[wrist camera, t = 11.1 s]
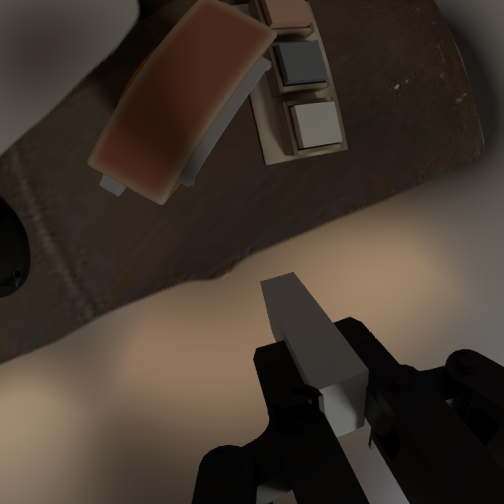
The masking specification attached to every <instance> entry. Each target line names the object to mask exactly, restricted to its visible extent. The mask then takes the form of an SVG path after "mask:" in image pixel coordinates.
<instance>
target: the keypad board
mask: <svg viewBox="0 0 504 504" xmlns="http://www.w3.org/2000/svg"><path fill="white" fill-rule="evenodd" d="M305 3H306V6H307V9H308V12H309V14H310V17H311V20H312V22H311V23H310V24H309V25H308V26H307V27H306V28H290V29H273V30H275V31H276V32H277V36H276V38H275V39H274V41H273V42H272V44H271V45H270V47H269V48H268V49H267V51H266V52H265V54H264V55H263V57H264V58H266V59H267V60H269V61H271V64H270V65H271V68H270V69H269V70H268V71H267V70H266V71H265V72H264V74H263V75H262V76H261V78H260V79H259V81H258V82H257V83H256V85H255V86H254V87H253V89H252V90H251V92H250V93H249V95H250V99H251V104H252V108H253V112H254V116H255V120H256V125H257V129H258V133H259V138H260V142H261V146H262V151H263V155H264V160H265V164H266V165H269V164H274V163H279V162H284V161H288V160H293V159H298V158H304V157H309V156H314V155H320V154H325V153H331V152H337V151H343V150H348V148H347V143H346V138H345V132H344V127H343V123H342V118H341V113H340V109H339V104H338V100H337V96H336V91H335V87H334V83H333V79H332V76H331V72H330V68H329V64H328V61H327V57H326V54H325V50H324V47H323V44H322V40H321V37H320V34H319V31H318V28H317V25H316V22H315V19H314V16H313V13H312V10H311V7H310V5H309V2H305ZM232 6H233V7H235V8H237V9H239V10H241V11H242V12H243V13H245V14H246V15H248V16H250V17H252V18H254V19H256V20H257V21H259V22H261V23H263V24H265V25H266V22H265V19H264V16H263V13H262V9H261V6H260V3H259V0H250V2H249V4H241V5H232ZM294 42H319V46H320V49H321V53H322V56H323V59H324V63H325V67H326V70H327V74H328V78H327V79H326V80H324V81H322V82H320V83H316V84H305V85H295V86H287V87H283V84H282V80H281V76H280V72H279V68H278V65H277V61H276V57H275V54H274V49H275V48H276V46H277V45H278V44H279V43H294ZM332 101H334V103H335V107H336V112H337V116H338V121H339V126H340V131H341V136H342V141H343V142H337V143H330V144H324V145H318V146H312V147H306V148H297V144H296V140H295V135H294V131H293V126H292V122H291V117H290V113H289V108H291V107H293V106H296V105H304V104H312V103H322V102H332Z"/></svg>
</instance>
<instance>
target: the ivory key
mask: <svg viewBox="0 0 504 504" xmlns="http://www.w3.org/2000/svg"><path fill="white" fill-rule="evenodd" d="M289 113H290V117H291V122H292V126H293V131H294V135H295V140H296V144H297V148H306V147H312V146H318V145H324V144H330V143H337V142H343V141H342V136H341V131H340V126H339V121H338V116H337V112H336V107H335V103H334V101H332V102H322V103H312V104H304V105H296V106H293V107H291V108H289Z"/></svg>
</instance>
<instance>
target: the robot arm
mask: <svg viewBox="0 0 504 504" xmlns="http://www.w3.org/2000/svg"><path fill="white" fill-rule="evenodd" d="M29 269H30V248H29V243H28V239H27V236H26V233H25V230H24V228H23V226H22V224H21V222H20V220H19V219H18V217H17V216H16V215H15V213H14V212H13V211H12V210H11V209H10V208H8V207H7V206H6V205H4V204H2V203H0V298H1V297H5V296H9V295H11V294H13V293H14V292H15V291H16V290H17V289H19V288H20V287H21V286H22V285H23V284H24V282H25V280H26V278H27V276H28V273H29ZM260 283H261V287H262V291H263V296H264V300H265V304H266V308H267V313H268V317H269V320H270V325H271V329H272V333H273V335H274V337H275V340H276V343H273V344H270V345H266V346H262V347H259V348H257V349H256V351H255V354H254V358H253V361H254V364H255V367H256V371H257V375H258V378H259V381H260V385H261V388H262V391H263V395H264V399H265V402H266V405H267V409H268V415H269V424H268V426H267V428H266V430H265V431H264V432H263V433H262V435H261V436H259V437H258V438H257V439H255V440H254V441H252V442H250V443H248V444H246V445H245V446H243V447H239V446H233V445H225V446H219V447H217V448H215V449H213V450H211V451H209V452H208V453H207V454H206V455H205V456H204V457H203V459H202V461H201V463H200V465H199V470H198V475H197V480H196V484H195V489H194V494H193V499H192V504H273V501H274V500H275V499H277V498H279V497H280V496H282V495H284V494H286V493H287V492H289V491H290V490H292V489H293V492H294V495H295V498H296V501H297V504H370V503H369V502H368V499H367V497H366V495H365V494H364V491H363V490H362V487H361V485H360V483H359V482H358V479H357V477H356V476H355V473H354V471H353V469H352V468H351V465H350V464H349V461H348V459H347V458H346V455H345V453H344V451H343V449H342V447H341V445H340V443H339V441H338V440H337V437H339V436H341V435H344V434H346V433H349V432H351V431H354V430H356V429H358V428H360V427H363V426H364V422H365V418H366V419H367V421H368V423H369V424H370V425H371V433H370V439H369V448H370V449H373V446H374V443H375V445H376V447H377V448H378V450H379V452H380V453H381V455H382V457H383V459H384V460H385V462H386V464H387V465H388V467H389V469H390V470H391V472H392V474H393V476H394V477H395V479H396V481H397V482H398V484H399V486H400V487H401V489H402V491H403V493H404V495H405V496H406V498H407V500H408V501H409V503H410V504H504V367H503V366H501V365H500V364H498V363H496V362H494V361H492V360H490V359H489V358H487V357H485V356H483V355H481V354H480V353H478V352H475V351H473V350H470V349H461V350H458V351H455V352H453V353H452V354H451V355H449V357H448V359H447V360H446V364H445V366H442V367H438V368H434V369H430V370H425V371H418V370H416V369H415V368H414V367H412V366H408V365H400V364H399V363H398V362H397V361H396V360H395V359H394V357H393V356H392V355H391V354H390V353H389V352H388V351H387V350H386V349H385V347H384V346H383V345H382V344H381V343H380V342H379V341H378V340H377V339H376V338H375V336H374V335H373V334H372V333H371V332H369V330H368V329H367V328H366V327H365V325H364V324H363V323H362V322H360V321H358V320H356V319H354V318H352V317H348V318H345V319H342V320H340V321H337V322H334V323H333V322H332V321H331V320H330V319H329V317H328V316H327V315H326V313H325V312H324V311H323V309H322V308H321V307H320V306H319V304H318V303H317V302H316V300H315V299H314V298H313V296H312V295H311V294H310V293H309V291H308V290H307V289H306V288H305V286H304V285H303V284H302V283H301V281H300V280H299V279H298V277H297V276H296V275H295V274H294V272H292V273H289V274H285V275H282V276H278V277H275V278H272V279H268V280H264V281H261V282H260Z"/></svg>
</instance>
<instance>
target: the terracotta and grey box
mask: <svg viewBox="0 0 504 504" xmlns="http://www.w3.org/2000/svg"><path fill="white" fill-rule="evenodd" d="M276 36H277V32H276V31H275V30H273V29H271V28H270V27H268V26H266V25H265V24H263V23H261V22H259V21H257V20H256V19H254V18H252V17H250V16H248V15H246V14H245V13H243V12H242V11H241V10H239V9H237V8H235V7H233V6H231V5H228V4H226V3H224V2H220V1H218V0H198V1H197V2H196V3H195V4H194V5H193V6H192V7H191V8H190V9H189V10H188V11H187V13H186V14H185V15H184V16H183V17H182V18H181V19H180V20H179V22H178V23H177V24H176V25H175V26H174V27H173V29H172V30H171V31H170V32H169V33H168V35H167V36H166V37H165V38H164V39H163V41H162V42H161V43H160V45H159V46H158V47H156V48H155V49H154V50H153V51H152V52H151V53H150V54H149V55H148V56H147V57H146V58H145V60H144V61H143V62H142V63H141V64H140V66H139V67H138V68H137V70H136V71H135V72H134V74H133V75H132V77H131V79H130V80H129V82H128V84H127V85H126V87H125V89H124V91H123V93H122V95H121V97H120V100H119V102H118V104H117V107H116V109H115V110H114V112H113V114H112V115H111V117H110V119H109V121H108V122H107V124H106V126H105V128H104V130H103V132H102V133H101V135H100V137H99V139H98V141H97V143H96V145H95V147H94V149H93V151H92V153H91V155H90V157H89V159H88V164H89V166H91V167H92V168H94V169H96V170H98V171H100V172H101V173H103V175H102V177H101V180H100V183H99V184H100V186H101V187H103V188H104V189H106V190H108V191H110V192H111V193H113V194H115V195H117V196H120V195H121V193H122V192H123V191H124V190H125V188H126V186H127V187H128V188H130V189H132V190H134V191H136V192H137V193H139V194H141V195H143V196H145V197H146V198H148V199H150V200H152V201H154V202H156V203H157V204H161V205H163V204H164V203H165V202H166V201H167V199H168V198H169V197H170V196H171V194H172V193H173V192H174V191H175V189H176V188H177V187H178V186H179V185H180V183H182V184H184V185H185V186H187V187H189V186H190V185H193V184H194V182H195V176H196V175H197V173H198V171H199V169H200V168H201V166H202V165H203V163H204V161H205V160H206V158H207V156H208V155H209V153H210V152H211V150H212V148H213V147H214V145H215V144H216V142H217V141H218V139H219V137H220V136H221V134H222V133H223V131H224V130H225V128H226V127H227V125H228V124H229V122H230V121H231V119H232V118H233V116H234V115H235V113H236V112H237V110H238V109H239V107H240V106H241V105H242V103H243V102H244V100H245V99H246V97H247V96H248V95H249V93H250V92H251V90H252V89H253V87H254V86H255V85H256V83H257V82H258V81H259V79H260V78H261V76H262V75H263V74H264V72H265V71H266V70H267V71H268V70H269V69H270V68H271V65H270V64H271V61H269V60H267V59H266V58H264V57H263V55H264V54H265V52H266V51H267V49H268V48H269V47H270V45H271V44H272V42H273V41H274V39H275V38H276ZM193 179H194V180H193Z"/></svg>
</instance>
